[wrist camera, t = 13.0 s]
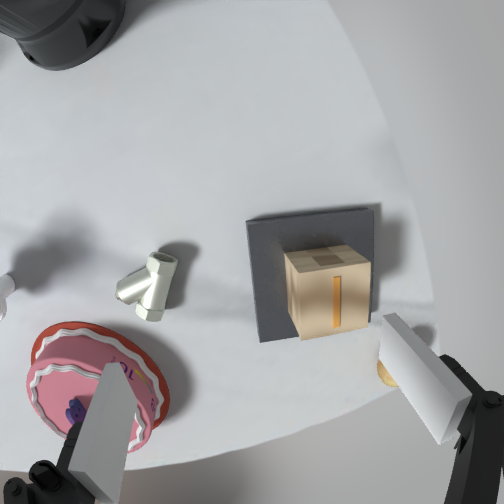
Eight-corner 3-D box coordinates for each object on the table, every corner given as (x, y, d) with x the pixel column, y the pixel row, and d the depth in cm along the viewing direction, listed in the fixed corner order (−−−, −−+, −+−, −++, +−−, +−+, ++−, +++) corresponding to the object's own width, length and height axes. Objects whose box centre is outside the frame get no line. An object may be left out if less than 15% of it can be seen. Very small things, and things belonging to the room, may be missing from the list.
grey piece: (245, 221, 39) (252, 236, 31) (366, 208, 40) (396, 219, 32) (258, 334, 43) (266, 367, 36) (364, 315, 44) (387, 342, 37)
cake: (192, 426, 48) (190, 474, 38) (78, 438, 47) (64, 476, 37) (129, 304, 40) (107, 346, 30) (9, 334, 40) (-22, 368, 30)
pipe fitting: (118, 295, 40) (164, 312, 41) (108, 307, 36) (158, 325, 37) (131, 240, 38) (180, 257, 39) (120, 248, 34) (174, 267, 35)
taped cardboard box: (346, 301, 41) (368, 327, 34) (288, 312, 40) (302, 341, 34) (346, 244, 39) (371, 262, 32) (284, 253, 38) (299, 274, 31)
